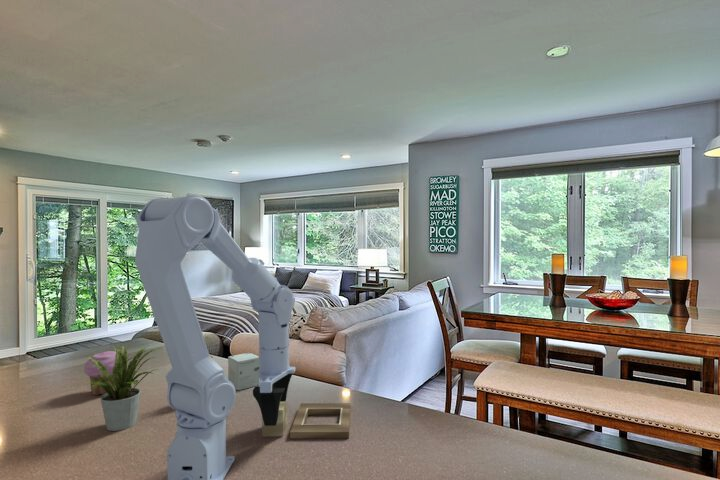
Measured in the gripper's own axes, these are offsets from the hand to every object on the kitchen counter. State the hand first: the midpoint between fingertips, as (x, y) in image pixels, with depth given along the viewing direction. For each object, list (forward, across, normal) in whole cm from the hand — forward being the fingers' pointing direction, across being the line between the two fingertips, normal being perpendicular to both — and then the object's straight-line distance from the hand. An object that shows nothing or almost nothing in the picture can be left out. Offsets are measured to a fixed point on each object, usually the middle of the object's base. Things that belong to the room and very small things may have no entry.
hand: (275, 415), depth 78 cm
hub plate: (+3, +3, -9) cm, 10 cm away
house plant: (+3, +3, +31) cm, 31 cm away
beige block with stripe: (+3, 0, 0) cm, 3 cm away
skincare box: (+3, +25, +14) cm, 29 cm away
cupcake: (+3, +21, +47) cm, 51 cm away
